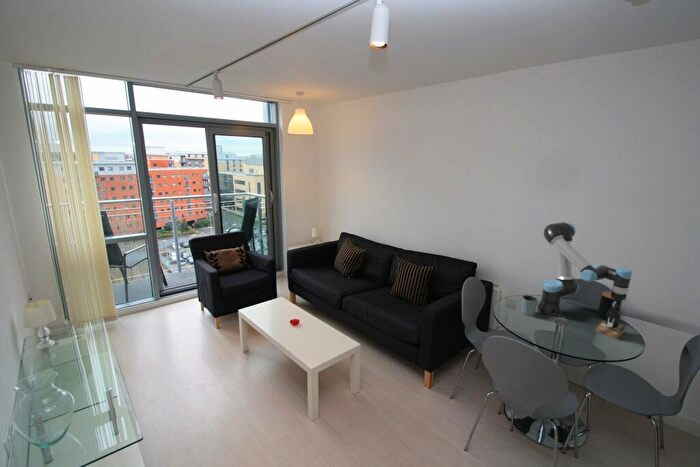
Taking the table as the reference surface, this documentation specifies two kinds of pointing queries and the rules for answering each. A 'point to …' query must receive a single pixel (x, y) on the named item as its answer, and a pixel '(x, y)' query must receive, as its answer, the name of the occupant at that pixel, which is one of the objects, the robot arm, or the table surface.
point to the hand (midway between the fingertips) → (611, 324)
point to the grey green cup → (529, 305)
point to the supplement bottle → (616, 318)
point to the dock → (610, 330)
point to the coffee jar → (605, 304)
